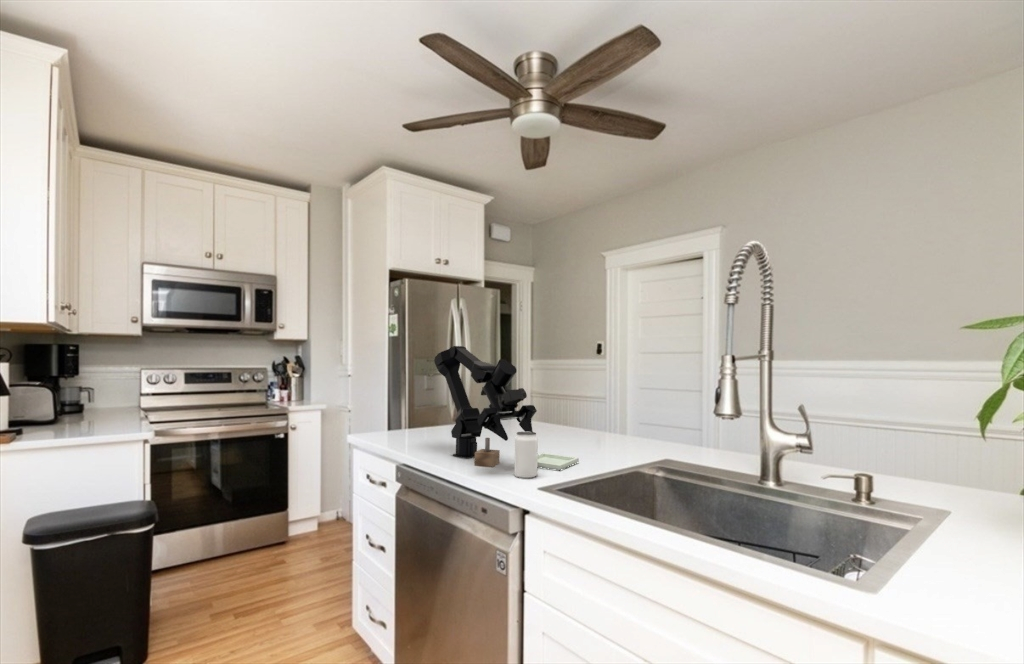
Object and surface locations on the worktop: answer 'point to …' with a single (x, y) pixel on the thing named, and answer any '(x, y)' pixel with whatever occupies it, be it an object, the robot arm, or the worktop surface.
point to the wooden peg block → (487, 456)
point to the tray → (555, 461)
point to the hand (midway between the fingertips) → (519, 438)
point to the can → (526, 454)
